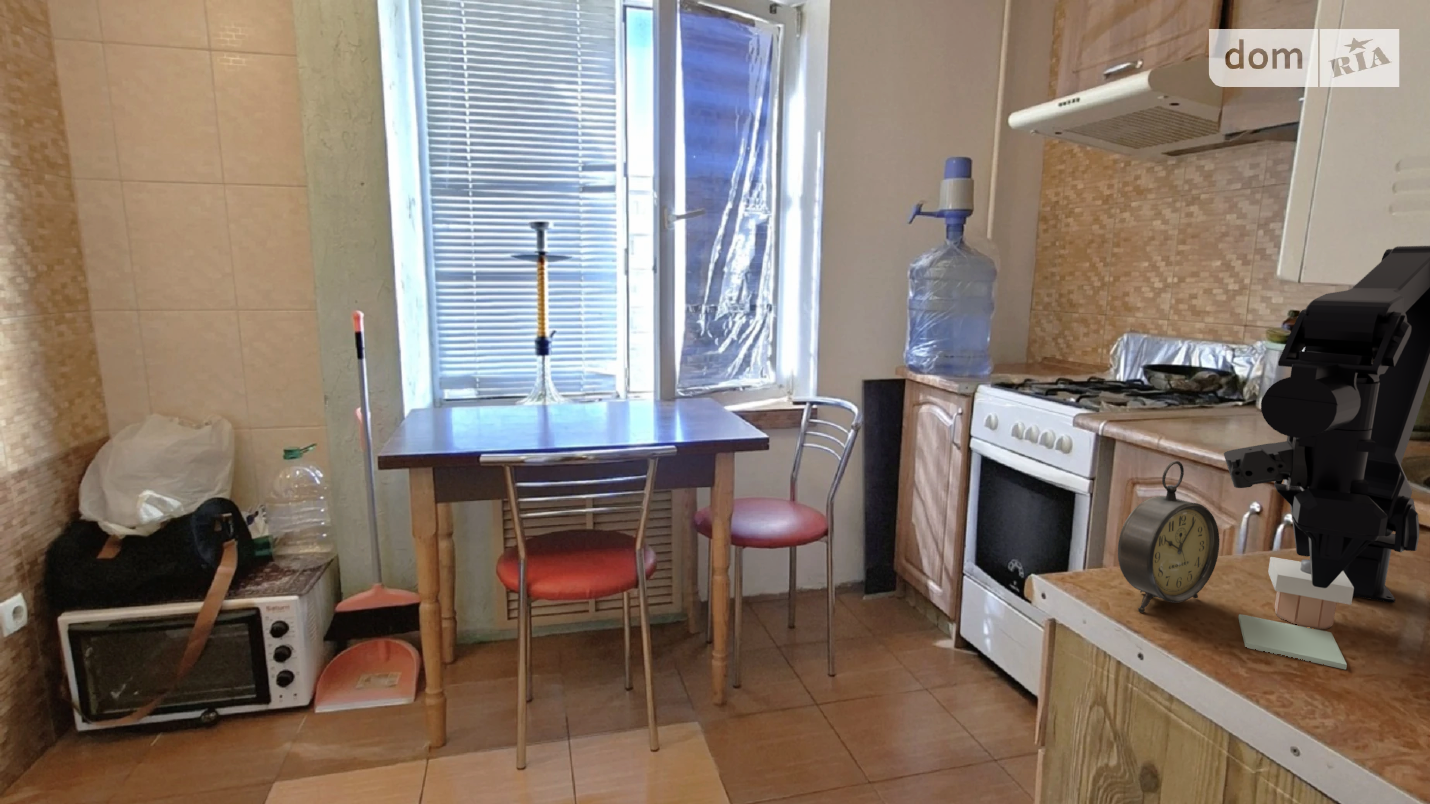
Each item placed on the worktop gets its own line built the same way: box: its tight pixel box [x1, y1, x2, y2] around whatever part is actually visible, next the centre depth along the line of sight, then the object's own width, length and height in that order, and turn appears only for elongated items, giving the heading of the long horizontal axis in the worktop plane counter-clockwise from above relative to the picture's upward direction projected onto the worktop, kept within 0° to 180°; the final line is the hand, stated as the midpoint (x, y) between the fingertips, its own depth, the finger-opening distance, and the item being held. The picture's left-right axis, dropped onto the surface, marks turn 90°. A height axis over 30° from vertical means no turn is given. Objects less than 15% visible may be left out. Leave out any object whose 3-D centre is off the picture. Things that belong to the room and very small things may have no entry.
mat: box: [1237, 613, 1348, 670], centre depth 70 cm, size 7×8×1 cm
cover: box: [1267, 556, 1354, 606], centre depth 74 cm, size 6×6×3 cm
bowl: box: [1274, 591, 1338, 630], centre depth 74 cm, size 5×5×4 cm
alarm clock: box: [1117, 460, 1220, 614], centre depth 77 cm, size 11×5×16 cm, turn 112°
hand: (1310, 570), depth 74 cm, fingers open, 9 cm apart
